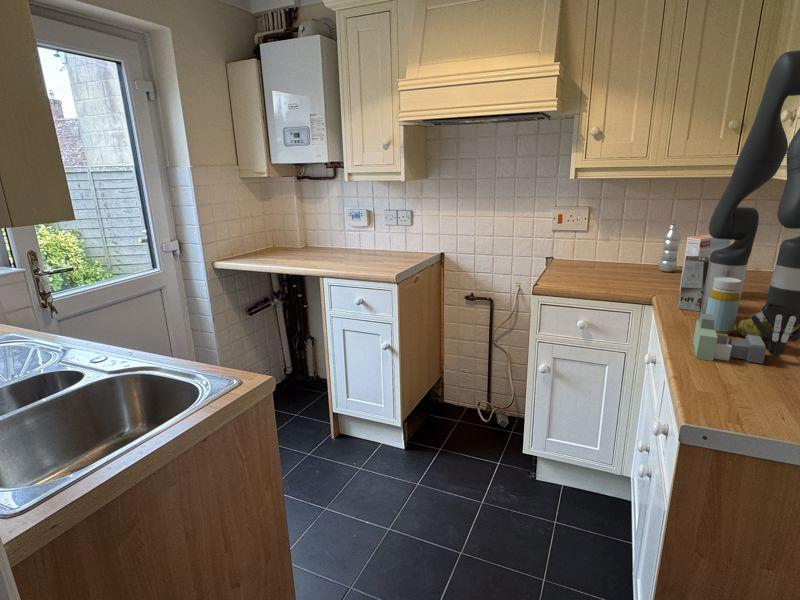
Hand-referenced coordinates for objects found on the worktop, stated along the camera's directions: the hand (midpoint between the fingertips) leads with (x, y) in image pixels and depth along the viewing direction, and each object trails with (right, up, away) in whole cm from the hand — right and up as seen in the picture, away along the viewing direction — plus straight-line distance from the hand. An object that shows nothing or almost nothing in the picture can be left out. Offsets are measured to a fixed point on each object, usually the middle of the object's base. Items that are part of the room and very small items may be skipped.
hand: (774, 355), depth 113 cm
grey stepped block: (-5, 0, +3) cm, 6 cm away
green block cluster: (-11, 0, +6) cm, 12 cm away
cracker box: (+18, +15, +56) cm, 61 cm away
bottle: (0, +4, +20) cm, 20 cm away
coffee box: (+5, +11, +42) cm, 44 cm away
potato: (+4, +2, +11) cm, 12 cm away
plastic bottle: (+25, +25, +90) cm, 96 cm away
